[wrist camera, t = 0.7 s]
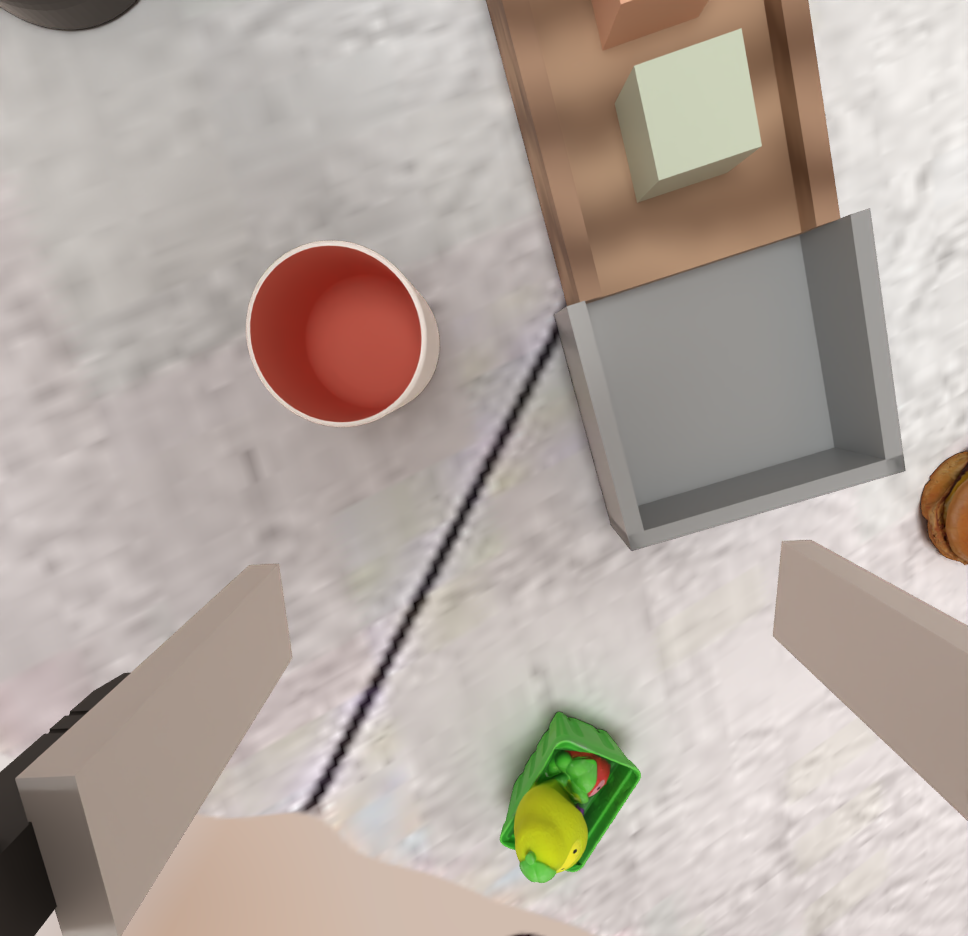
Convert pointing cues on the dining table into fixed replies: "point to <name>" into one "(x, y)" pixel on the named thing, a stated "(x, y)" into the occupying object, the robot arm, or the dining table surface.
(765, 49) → the wooden tray
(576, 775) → the fruit basket
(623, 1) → the tile
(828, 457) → the box
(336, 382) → the cup
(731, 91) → the tile
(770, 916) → the dining table surface
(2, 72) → the dining table surface
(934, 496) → the burger
